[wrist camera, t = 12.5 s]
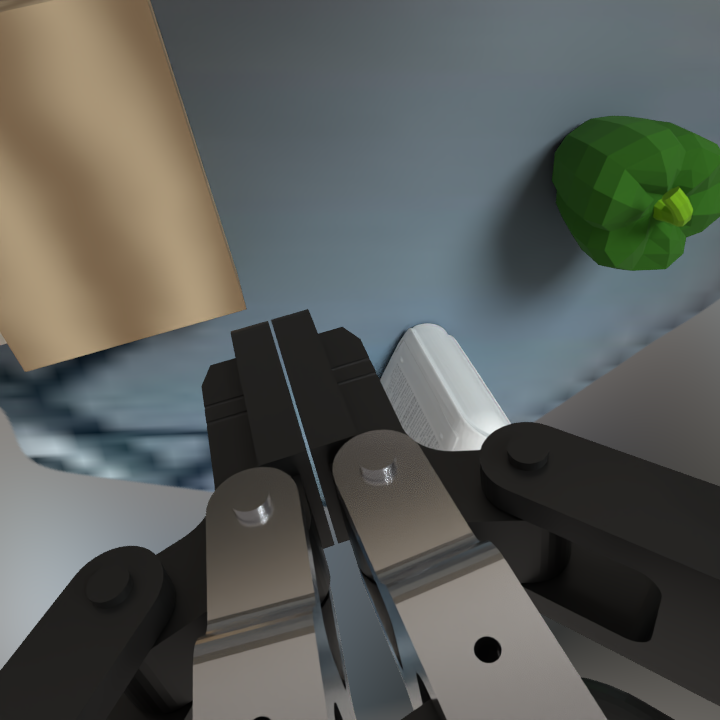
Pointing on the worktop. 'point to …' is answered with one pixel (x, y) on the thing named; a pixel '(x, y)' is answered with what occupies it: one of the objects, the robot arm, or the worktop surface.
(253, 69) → the worktop surface
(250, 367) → the robot arm
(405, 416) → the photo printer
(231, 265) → the oak deck
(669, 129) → the bell pepper
